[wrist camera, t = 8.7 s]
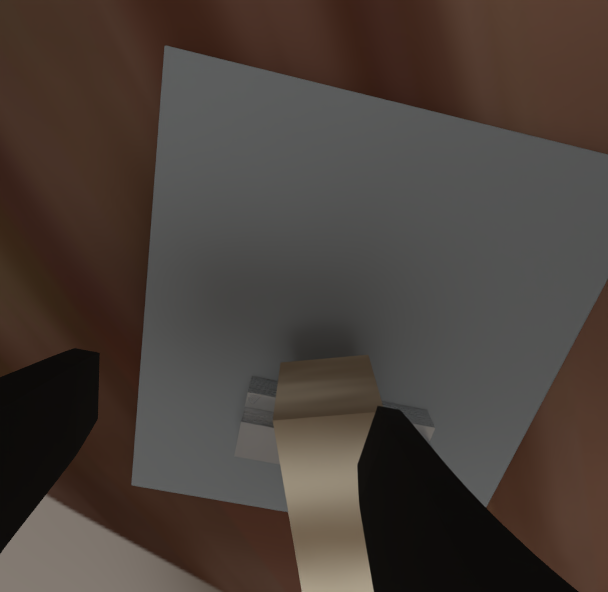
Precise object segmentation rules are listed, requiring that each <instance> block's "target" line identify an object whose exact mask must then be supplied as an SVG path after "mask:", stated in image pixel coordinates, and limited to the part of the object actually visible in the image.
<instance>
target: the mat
mask: <svg viewBox="0 0 608 592" xmlns="http://www.w3.org/2000/svg"><path fill="white" fill-rule="evenodd" d="M607 279H608V155H607V154H603V153H599V152H595V151H591V150H587V149H583V148H579V147H575V146H571V145H567V144H563V143H559V142H555V141H551V140H547V139H543V138H539V137H534V136H530V135H526V134H522V133H518V132H514V131H510V130H506V129H502V128H498V127H494V126H490V125H486V124H482V123H478V122H474V121H470V120H466V119H461V118H457V117H453V116H449V115H445V114H441V113H437V112H433V111H429V110H425V109H421V108H417V107H413V106H409V105H405V104H401V103H397V102H393V101H389V100H384V99H380V98H376V97H372V96H368V95H364V94H360V93H356V92H352V91H348V90H344V89H340V88H336V87H332V86H328V85H324V84H320V83H316V82H311V81H307V80H303V79H299V78H295V77H291V76H287V75H283V74H279V73H275V72H271V71H267V70H263V69H259V68H255V67H251V66H247V65H243V64H238V63H234V62H230V61H226V60H222V59H218V58H214V57H210V56H206V55H202V54H198V53H194V52H190V51H186V50H182V49H178V48H174V47H170V46H166V45H165V49H164V62H163V75H162V88H161V101H160V115H159V128H158V141H157V154H156V168H155V181H154V194H153V207H152V220H151V234H150V247H149V260H148V273H147V287H146V300H145V313H144V326H143V340H142V353H141V366H140V379H139V392H138V406H137V419H136V432H135V445H134V459H133V472H132V485H134V486H139V487H145V488H151V489H157V490H163V491H168V492H174V493H180V494H186V495H192V496H197V497H203V498H209V499H215V500H221V501H226V502H232V503H238V504H244V505H250V506H256V507H261V508H267V509H273V510H279V511H285V512H288V507H287V501H286V495H285V490H284V484H283V478H282V472H281V466H280V464H274V463H269V462H263V461H258V460H252V459H247V458H241V457H236V456H234V455H235V450H236V445H237V440H238V435H239V430H240V425H241V420H242V416H243V412H244V408H245V403H246V398H247V393H248V389H249V385H250V381H251V377H252V376H255V377H260V378H266V379H271V380H276V381H278V377H279V370H280V363H281V362H292V361H304V360H315V359H326V358H337V357H348V356H359V355H369V359H370V362H371V366H372V369H373V373H374V376H375V380H376V383H377V387H378V390H379V394H380V397H381V401H384V402H389V403H394V404H399V405H405V406H410V407H415V408H420V409H425V410H427V411H428V413H429V415H430V417H431V419H432V422H433V424H434V426H435V430H434V432H433V435H432V437H431V439H430V443H431V446H432V448H433V449H434V451H435V452H436V453H437V454H438V455H439V457H440V458H441V459H442V460H443V461H444V462H445V464H446V465H447V466H448V467H449V468H450V469H451V470H452V472H453V473H454V474H455V475H456V476H457V477H458V478H459V480H460V481H461V482H462V483H463V484H464V485H465V486H466V487H467V488H468V489H469V490H470V492H471V493H472V494H473V495H474V496H475V497H476V498H477V499H478V500H479V501H480V502H481V503H482V504H483V505H484V506H485V507H486V506H487V505H488V503H489V501H490V499H491V497H492V495H493V493H494V491H495V490H496V488H497V486H498V484H499V482H500V480H501V478H502V476H503V474H504V473H505V471H506V469H507V467H508V465H509V463H510V461H511V459H512V458H513V456H514V454H515V452H516V450H517V448H518V446H519V444H520V443H521V441H522V439H523V437H524V435H525V433H526V431H527V429H528V428H529V426H530V424H531V422H532V420H533V418H534V416H535V414H536V413H537V411H538V409H539V407H540V405H541V403H542V401H543V399H544V397H545V396H546V394H547V392H548V390H549V388H550V386H551V384H552V382H553V381H554V379H555V377H556V375H557V373H558V371H559V369H560V367H561V366H562V364H563V362H564V360H565V358H566V356H567V354H568V352H569V351H570V349H571V347H572V345H573V343H574V341H575V339H576V337H577V336H578V334H579V332H580V330H581V328H582V326H583V324H584V322H585V320H586V319H587V317H588V315H589V313H590V311H591V309H592V307H593V305H594V304H595V302H596V300H597V298H598V296H599V294H600V292H601V290H602V289H603V287H604V285H605V283H606V281H607Z"/></svg>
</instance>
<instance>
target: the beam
mask: <svg viewBox="0 0 608 592" xmlns="http://www.w3.org/2000/svg"><path fill="white" fill-rule="evenodd" d="M377 406H382V407H383V404H382V401H381V397H380V394H379V390H378V387H377V383H376V380H375V376H374V373H373V369H372V366H371V362H370V359H369V355H359V356H348V357H337V358H326V359H315V360H304V361H292V362H281V363H280V370H279V377H278V385H277V392H276V399H275V407H274V414H273V426H274V431H275V437H276V443H277V449H278V455H279V461H280V466H281V472H282V478H283V484H284V490H285V495H286V501H287V507H288V513H289V519H290V525H291V530H292V536H293V542H294V548H295V554H296V560H297V565H298V571H299V577H300V583H301V589H302V592H374V590H373V584H372V578H371V573H370V567H369V561H368V555H367V549H366V543H365V538H364V532H363V525H362V519H361V513H360V507H359V495H358V472H357V464H358V461H359V458H360V456H361V453H362V450H363V447H364V444H365V441H366V438H367V435H368V432H369V429H370V426H371V423H372V420H373V418H374V415H375V412H376V409H377Z"/></svg>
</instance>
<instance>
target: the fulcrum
mask: <svg viewBox="0 0 608 592" xmlns="http://www.w3.org/2000/svg"><path fill="white" fill-rule="evenodd" d="M277 385H278V381H276V380H271V379H266V378H260V377H255V376H252V377H251V381H250V385H249V389H248V393H247V398H246V403H245V408H244V412H243V416H242V420H241V425H240V430H239V435H238V440H237V445H236V450H235V455H234V456H236V457H241V458H247V459H252V460H258V461H263V462H269V463H274V464H280V461H279V455H278V449H277V443H276V437H275V431H274V426H273V414H274V407H275V399H276V392H277ZM382 404H383V407H388V408H393V409H398V410H401V411H402V412H403V414H404V415H405V416H406V417H407V418H408V419H409V420H410V422H411V423H412V424H413V425H414V426H415V428H416V429H417V430H418V431H419V432H420V434H421V435H422V436H423V437H424V439H425V440H426V441H427V442H428V443H429V445H430V446H431V443H430V439H431V437H432V435H433V432H434V430H435V426H434V424H433V422H432V419H431V417H430V415H429V413H428V411H427V410H425V409H420V408H415V407H410V406H405V405H399V404H394V403H389V402H384V401H382ZM431 447H432V446H431Z"/></svg>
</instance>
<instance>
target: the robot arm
mask: <svg viewBox="0 0 608 592" xmlns="http://www.w3.org/2000/svg"><path fill="white" fill-rule="evenodd" d="M98 390H99V353H97V352H92V351H87V350H81V349H76V348H74V349H71V350H68V351H65V352H62V353H60V354H57V355H55V356H52V357H49V358H47V359H44V360H42V361H39V362H37V363H35V364H32V365H30V366H27V367H25V368H22V369H20V370H17V371H15V372H12V373H10V374H7V375H5V376H2V377H0V553H1V552H2V550H3V549H4V548H5V546H6V545H7V544H8V542H9V541H10V540H11V538H12V537H13V536H14V535H15V533H16V532H17V531H18V529H19V528H20V527H21V526H22V524H23V523H24V522H25V521H26V519H27V518H28V517H29V515H30V514H31V513H32V512H33V510H34V509H35V508H36V506H37V505H38V504H39V503H40V501H41V500H42V499H43V498H44V496H45V495H46V494H47V492H48V491H49V490H50V489H51V487H52V486H53V485H54V483H55V482H56V481H57V480H58V478H59V477H60V476H61V474H62V473H63V472H64V470H65V469H66V468H67V467H68V465H69V464H70V463H71V461H72V460H73V459H74V457H75V456H76V454H77V453H78V451H79V450H80V448H81V446H82V445H83V443H84V441H85V440H86V438H87V436H88V435H89V433H90V431H91V430H92V428H93V426H94V424H95V423H96V421H97V419H98ZM357 472H358V495H359V507H360V513H361V519H362V525H363V532H364V538H365V543H366V549H367V555H368V561H369V567H370V573H371V578H372V584H373V590H374V592H578V591H577V590H576V589H574V588H573V587H572V586H571V585H570V584H568V583H567V582H566V581H565V580H564V579H562V578H561V577H560V576H559V575H558V574H556V573H555V572H554V571H553V570H552V569H550V568H549V567H548V566H547V565H546V564H545V563H544V562H543V561H541V560H540V559H539V558H538V557H537V556H536V555H535V554H533V553H532V552H531V551H530V550H529V549H528V548H527V547H526V546H525V545H524V544H523V543H522V542H521V541H520V540H518V539H517V538H516V537H515V536H514V535H513V534H512V533H511V532H510V531H509V530H508V529H507V528H506V527H505V526H503V525H502V524H501V523H500V522H499V521H498V520H497V519H496V518H495V517H494V516H493V515H492V514H491V513H490V512H489V511H488V510H487V508H486V507H485V506H484V505H483V504H482V503H481V502H480V501H479V500H478V499H477V498H476V497H475V496H474V495H473V494H472V493H471V492H470V490H469V489H468V488H467V487H466V486H465V485H464V484H463V483H462V482H461V481H460V480H459V478H458V477H457V476H456V475H455V474H454V473H453V472H452V470H451V469H450V468H449V467H448V466H447V465H446V464H445V462H444V461H443V460H442V459H441V458H440V457H439V455H438V454H437V453H436V452H435V451H434V449H433V448H432V447H431V446H430V445H429V443H428V442H427V441H426V440H425V439H424V437H423V436H422V435H421V434H420V432H419V431H418V430H417V429H416V428H415V426H414V425H413V424H412V423H411V422H410V420H409V419H408V418H407V417H406V416H405V415H404V414H403V412H402V411H401V410H398V409H393V408H388V407H382V406H377V409H376V412H375V415H374V418H373V420H372V423H371V426H370V429H369V432H368V435H367V438H366V441H365V444H364V447H363V450H362V453H361V456H360V458H359V461H358V464H357Z"/></svg>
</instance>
